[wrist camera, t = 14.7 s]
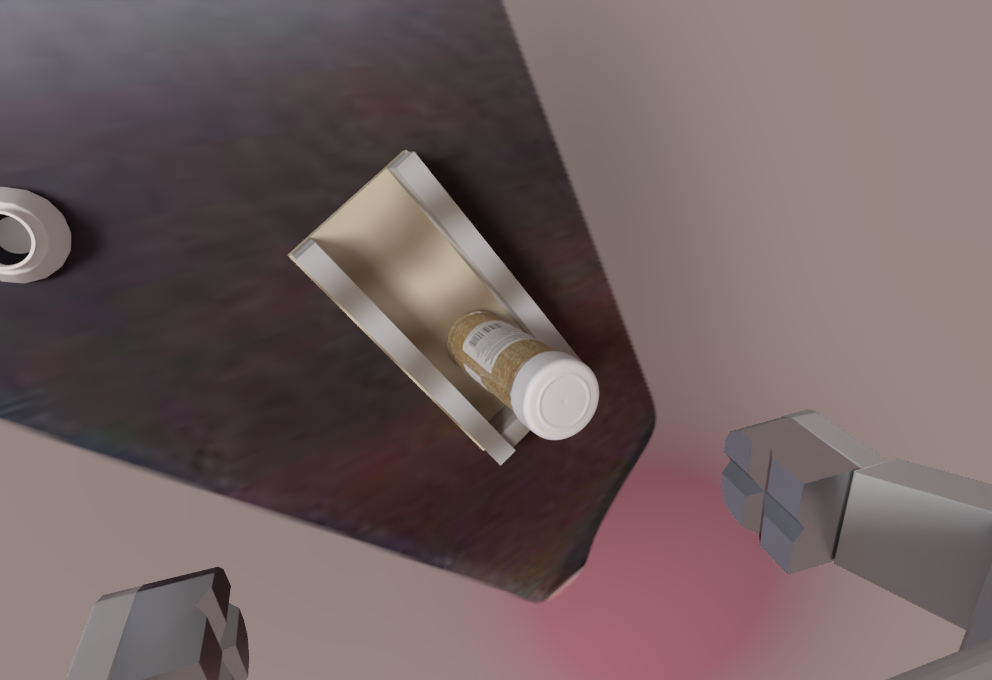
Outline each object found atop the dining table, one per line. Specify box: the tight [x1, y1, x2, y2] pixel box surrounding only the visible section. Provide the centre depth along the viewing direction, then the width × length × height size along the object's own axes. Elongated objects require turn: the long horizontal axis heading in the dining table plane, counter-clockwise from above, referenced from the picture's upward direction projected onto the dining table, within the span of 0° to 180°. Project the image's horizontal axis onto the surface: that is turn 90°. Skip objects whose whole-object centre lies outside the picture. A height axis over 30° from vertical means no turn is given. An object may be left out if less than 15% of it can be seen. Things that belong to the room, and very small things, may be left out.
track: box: [288, 150, 582, 465], centre depth 42 cm, size 20×10×4 cm, turn 40°
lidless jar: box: [0, 187, 71, 283], centre depth 32 cm, size 5×3×5 cm
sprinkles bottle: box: [447, 310, 599, 440], centre depth 38 cm, size 5×5×13 cm
